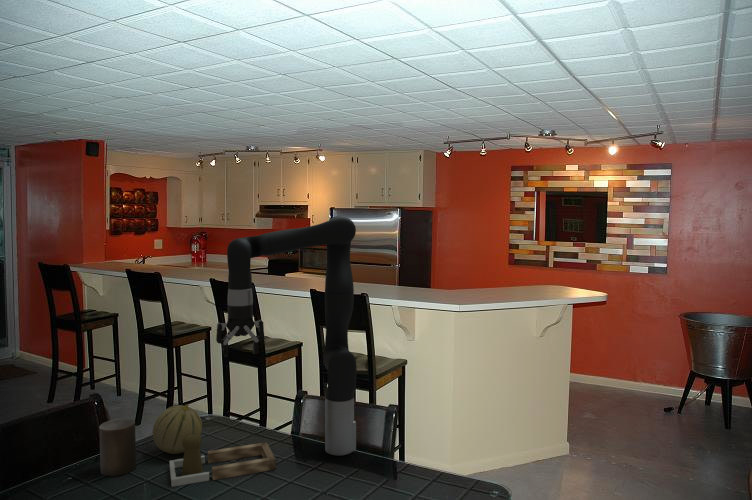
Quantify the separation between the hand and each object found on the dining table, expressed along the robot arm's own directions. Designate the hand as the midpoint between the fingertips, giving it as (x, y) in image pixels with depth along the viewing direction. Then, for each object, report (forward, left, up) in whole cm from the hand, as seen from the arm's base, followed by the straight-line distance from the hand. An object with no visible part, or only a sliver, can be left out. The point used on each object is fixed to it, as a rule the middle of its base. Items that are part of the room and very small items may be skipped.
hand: (240, 355), depth 169 cm
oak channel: (+1, +6, -32) cm, 33 cm away
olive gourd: (+15, +6, -32) cm, 36 cm away
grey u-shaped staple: (+15, +6, -32) cm, 36 cm away
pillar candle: (+35, -5, -32) cm, 48 cm away
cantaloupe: (+18, -11, -32) cm, 39 cm away
